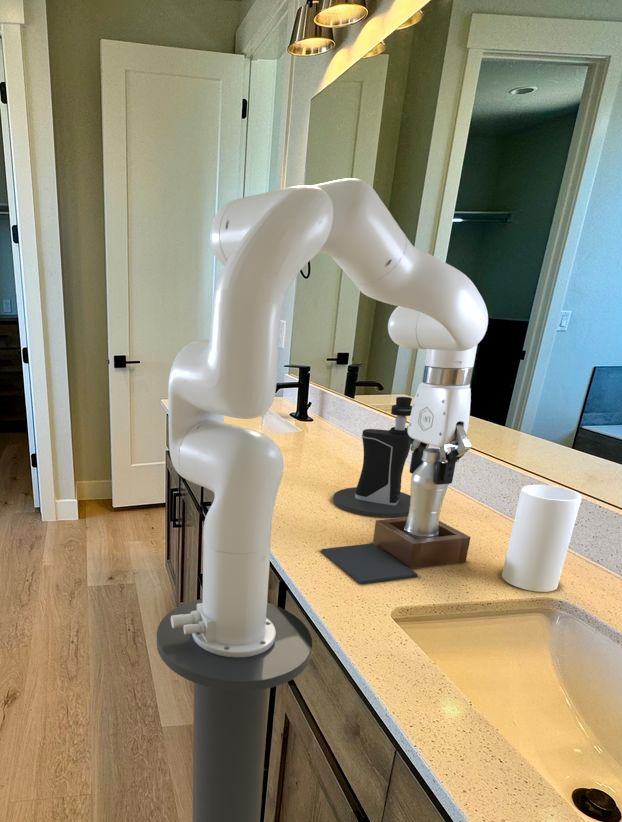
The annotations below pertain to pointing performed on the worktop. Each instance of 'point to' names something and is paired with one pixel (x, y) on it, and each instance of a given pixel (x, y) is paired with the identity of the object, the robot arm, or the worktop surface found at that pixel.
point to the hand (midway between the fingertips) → (430, 477)
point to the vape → (381, 470)
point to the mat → (368, 563)
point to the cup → (540, 537)
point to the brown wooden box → (421, 544)
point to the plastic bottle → (425, 498)
